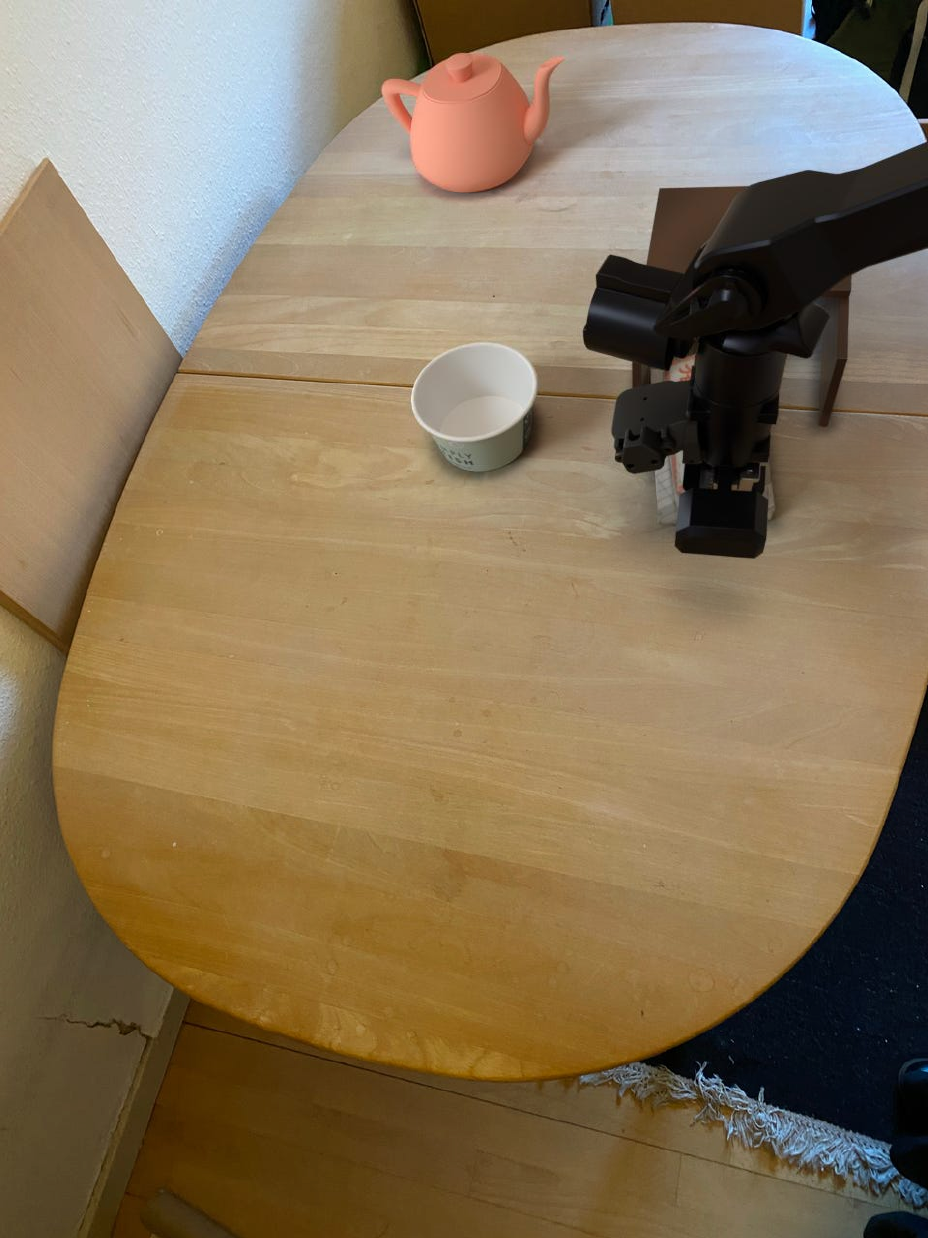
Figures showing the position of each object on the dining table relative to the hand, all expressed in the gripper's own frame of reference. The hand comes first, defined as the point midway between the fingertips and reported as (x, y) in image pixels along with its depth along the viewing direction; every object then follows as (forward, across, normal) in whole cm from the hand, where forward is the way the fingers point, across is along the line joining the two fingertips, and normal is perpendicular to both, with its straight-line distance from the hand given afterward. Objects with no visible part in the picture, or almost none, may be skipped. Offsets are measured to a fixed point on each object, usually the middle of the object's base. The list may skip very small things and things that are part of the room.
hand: (717, 509), depth 70 cm
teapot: (+3, -52, -31) cm, 60 cm away
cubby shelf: (+3, -22, 0) cm, 22 cm away
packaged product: (+3, -10, -1) cm, 10 cm away
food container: (+4, -10, -23) cm, 25 cm away
